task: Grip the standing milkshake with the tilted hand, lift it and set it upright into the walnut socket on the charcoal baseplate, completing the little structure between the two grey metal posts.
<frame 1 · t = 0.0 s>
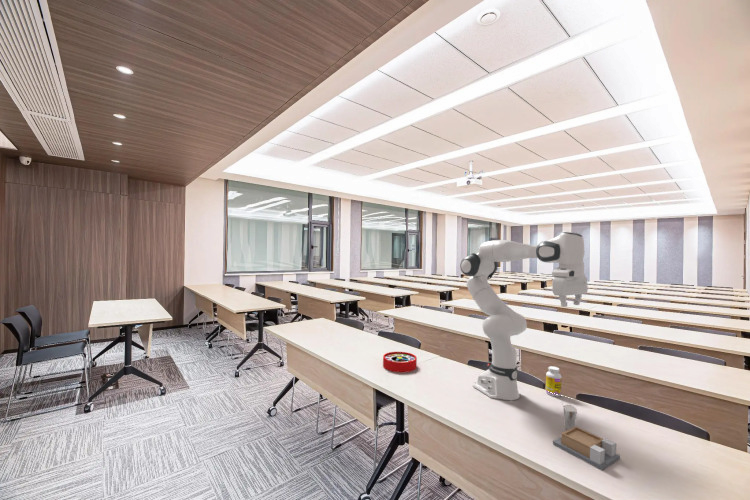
hand: (570, 305, 132), 48 cm above the table, tool pointing down, fingers open, 8 cm apart
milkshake: (568, 429, 128), on the table
supplement bottle: (553, 394, 159), on the table
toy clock: (399, 366, 193), on the table
baseplate: (585, 451, 113), on the table
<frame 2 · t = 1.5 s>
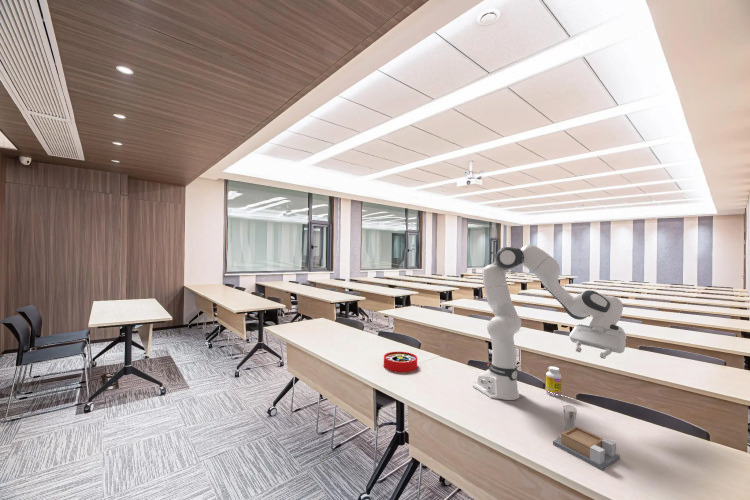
hand: (589, 354, 136), 27 cm above the table, tool tilted 45°, fingers open, 8 cm apart
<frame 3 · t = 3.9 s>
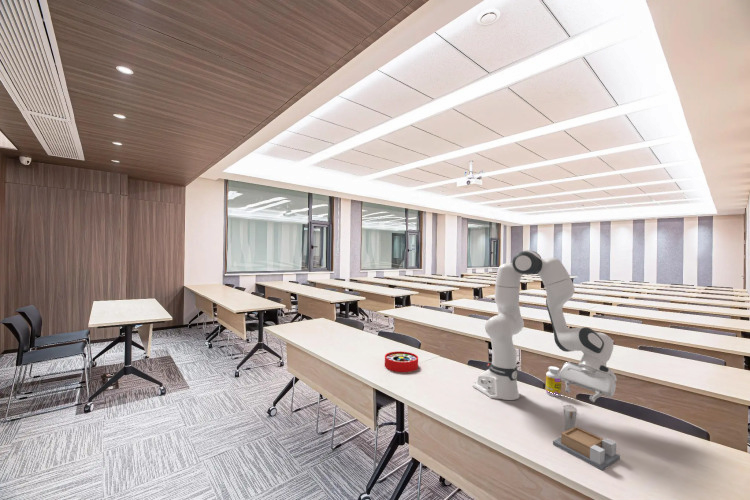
hand: (578, 396, 131), 11 cm above the table, tool tilted 45°, fingers open, 8 cm apart
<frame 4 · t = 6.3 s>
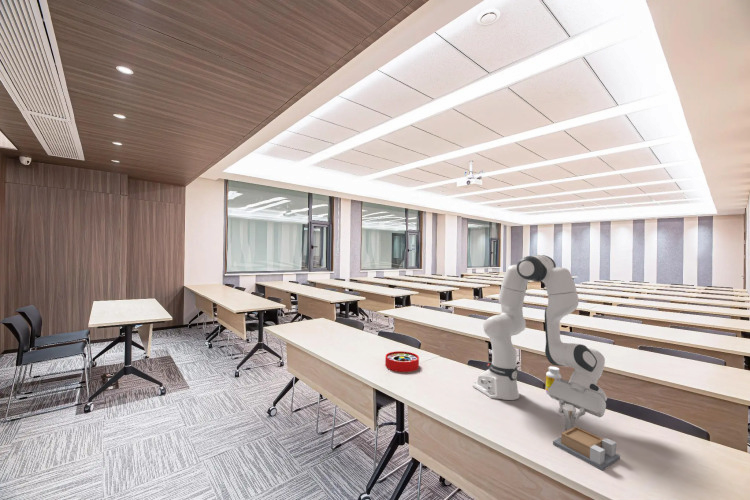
hand: (568, 415, 127), 5 cm above the table, tool tilted 45°, fingers closed on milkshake, 4 cm apart
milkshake: (568, 429, 128), on the table, touching gripper
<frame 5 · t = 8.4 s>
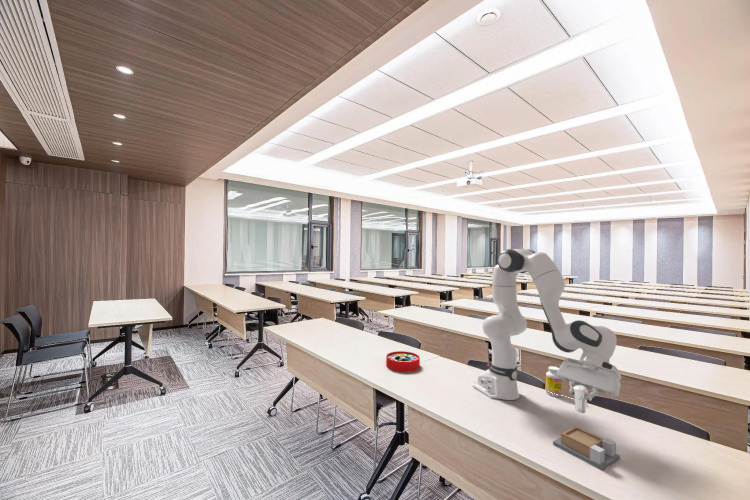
hand: (579, 396, 118), 17 cm above the table, tool tilted 45°, fingers closed on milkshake, 4 cm apart
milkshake: (579, 411, 119), point 11 cm above the table, touching gripper
when the fingers open (11 cm above the table, at t = 10.4 s): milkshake drops 1 cm, resting on baseplate.
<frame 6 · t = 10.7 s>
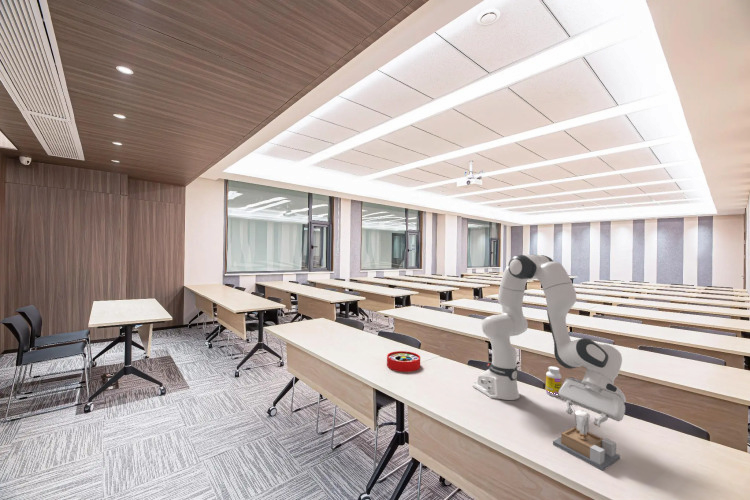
hand: (581, 419, 114), 11 cm above the table, tool tilted 45°, fingers open, 8 cm apart
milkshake: (580, 437, 114), point 4 cm above the table, touching baseplate
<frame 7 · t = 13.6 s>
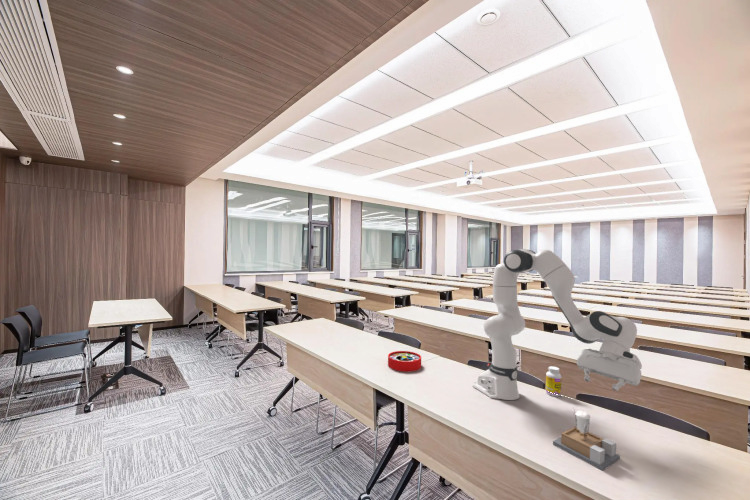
hand: (599, 384, 120), 21 cm above the table, tool tilted 45°, fingers open, 8 cm apart
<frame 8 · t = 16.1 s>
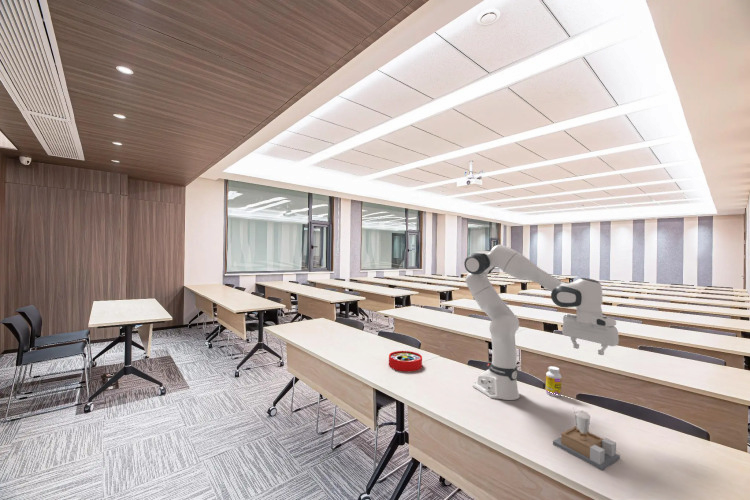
hand: (588, 351, 133), 29 cm above the table, tool pointing down, fingers open, 8 cm apart
at the end: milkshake 0.4 cm from the target spot on the baseplate, point 4.0 cm above the baseplate's base; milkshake tilted 0°; the gripper is holding nothing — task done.
